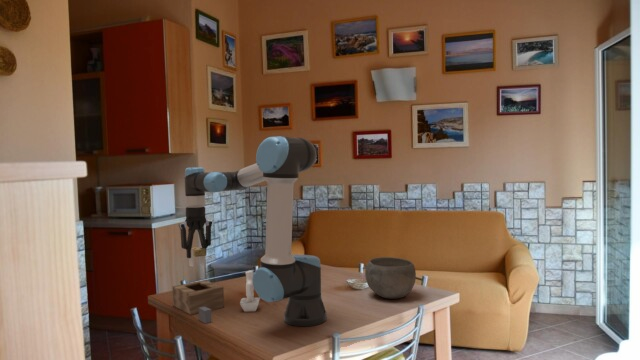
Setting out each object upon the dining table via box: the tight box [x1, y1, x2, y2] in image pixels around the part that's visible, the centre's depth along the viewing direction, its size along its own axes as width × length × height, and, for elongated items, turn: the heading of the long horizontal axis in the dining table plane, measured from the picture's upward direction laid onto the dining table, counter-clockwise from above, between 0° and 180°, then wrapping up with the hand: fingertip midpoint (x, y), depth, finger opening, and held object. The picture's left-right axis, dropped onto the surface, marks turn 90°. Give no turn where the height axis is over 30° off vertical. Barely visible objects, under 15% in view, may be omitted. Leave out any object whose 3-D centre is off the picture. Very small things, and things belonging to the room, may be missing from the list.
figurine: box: [239, 269, 261, 313], centre depth 176 cm, size 7×9×15 cm
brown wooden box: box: [172, 279, 225, 316], centre depth 181 cm, size 16×14×8 cm
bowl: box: [364, 256, 417, 300], centre depth 190 cm, size 21×21×15 cm
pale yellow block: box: [191, 246, 207, 258], centre depth 181 cm, size 8×4×2 cm, turn 41°
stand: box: [198, 307, 212, 324], centre depth 164 cm, size 5×2×4 cm, turn 41°
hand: (196, 265), depth 181 cm, fingers closed on pale yellow block, 4 cm apart
